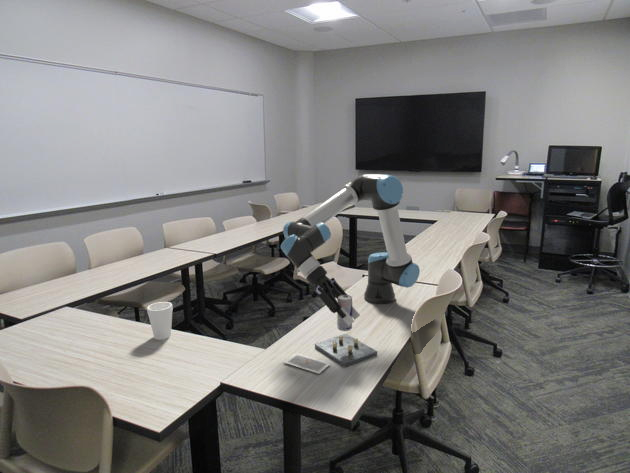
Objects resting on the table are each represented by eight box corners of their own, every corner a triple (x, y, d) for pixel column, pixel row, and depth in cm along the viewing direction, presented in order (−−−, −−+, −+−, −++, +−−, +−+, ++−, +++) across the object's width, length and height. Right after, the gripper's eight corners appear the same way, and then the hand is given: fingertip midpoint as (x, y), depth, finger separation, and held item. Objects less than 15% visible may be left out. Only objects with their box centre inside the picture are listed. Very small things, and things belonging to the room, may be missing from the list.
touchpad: (295, 355, 152) (295, 350, 152) (330, 366, 144) (330, 360, 144) (282, 364, 146) (282, 359, 145) (319, 376, 138) (319, 370, 137)
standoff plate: (346, 337, 165) (346, 327, 164) (377, 355, 151) (377, 344, 150) (314, 347, 157) (314, 337, 156) (344, 367, 143) (344, 356, 142)
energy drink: (353, 326, 153) (353, 295, 151) (349, 332, 149) (350, 300, 146) (339, 324, 155) (339, 293, 153) (335, 330, 150) (335, 298, 148)
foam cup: (179, 333, 170) (177, 303, 167) (163, 343, 162) (159, 312, 159) (162, 329, 174) (159, 300, 171) (145, 339, 166) (141, 308, 163)
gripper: (317, 270, 163) (356, 317, 159) (295, 284, 147) (337, 336, 143) (329, 259, 159) (369, 306, 156) (308, 271, 143) (352, 324, 140)
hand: (354, 320), depth 150 cm, fingers closed on energy drink, 5 cm apart
